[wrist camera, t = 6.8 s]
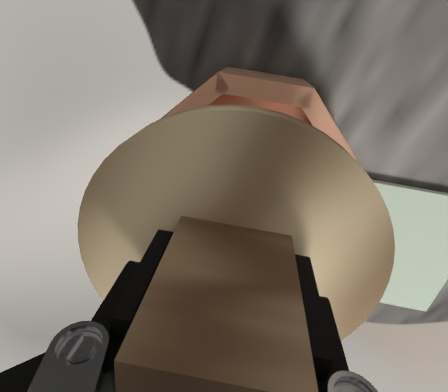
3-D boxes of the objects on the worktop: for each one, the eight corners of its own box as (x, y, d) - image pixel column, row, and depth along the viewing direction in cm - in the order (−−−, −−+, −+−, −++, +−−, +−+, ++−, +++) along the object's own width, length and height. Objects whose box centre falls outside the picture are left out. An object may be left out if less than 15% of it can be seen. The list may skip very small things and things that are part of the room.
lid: (444, 138, 9) (743, 285, 4) (328, 366, 15) (372, 569, 9) (79, 76, 10) (-186, 119, 4) (98, 322, 15) (1, 489, 9)
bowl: (356, 87, 19) (384, 99, 15) (306, 236, 25) (315, 278, 20) (176, 57, 20) (150, 60, 15) (166, 210, 25) (146, 245, 21)
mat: (491, 200, 21) (497, 204, 21) (422, 306, 27) (426, 311, 26) (341, 173, 22) (343, 177, 21) (301, 282, 27) (302, 287, 26)
